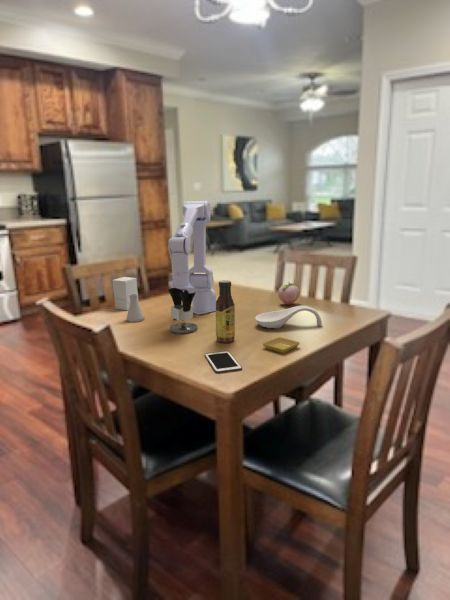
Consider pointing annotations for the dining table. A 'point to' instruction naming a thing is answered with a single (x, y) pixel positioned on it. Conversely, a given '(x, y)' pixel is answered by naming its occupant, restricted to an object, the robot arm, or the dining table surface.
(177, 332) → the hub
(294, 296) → the decorative fruit
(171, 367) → the dining table surface
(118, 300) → the supplement box
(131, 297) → the flask
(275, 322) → the spoon rest
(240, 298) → the dining table surface
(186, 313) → the collar
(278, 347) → the saucer
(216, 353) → the cell phone
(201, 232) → the robot arm
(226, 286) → the sauce bottle
